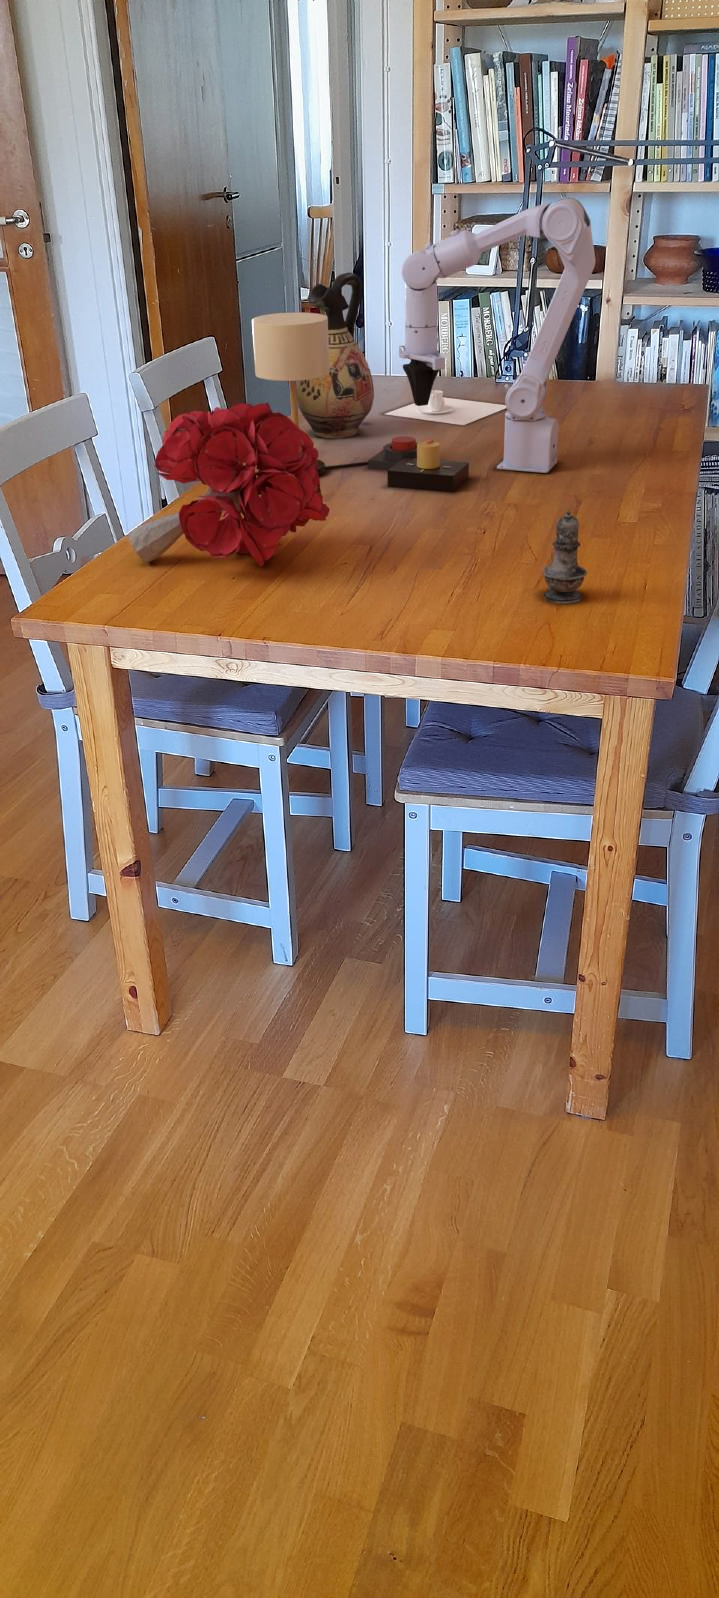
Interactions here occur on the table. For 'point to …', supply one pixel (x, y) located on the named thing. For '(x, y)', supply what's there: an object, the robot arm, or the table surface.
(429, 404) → the teacup and saucer
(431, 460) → the dimmer knob
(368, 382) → the ceramic jug
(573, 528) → the salt shaker
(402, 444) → the lamp switch
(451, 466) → the dimmer panel
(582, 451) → the table surface
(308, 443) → the bouquet
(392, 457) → the switch box
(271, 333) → the table lamp
